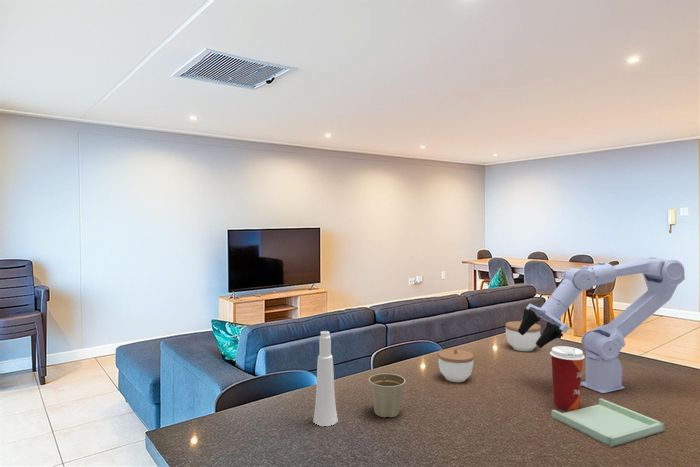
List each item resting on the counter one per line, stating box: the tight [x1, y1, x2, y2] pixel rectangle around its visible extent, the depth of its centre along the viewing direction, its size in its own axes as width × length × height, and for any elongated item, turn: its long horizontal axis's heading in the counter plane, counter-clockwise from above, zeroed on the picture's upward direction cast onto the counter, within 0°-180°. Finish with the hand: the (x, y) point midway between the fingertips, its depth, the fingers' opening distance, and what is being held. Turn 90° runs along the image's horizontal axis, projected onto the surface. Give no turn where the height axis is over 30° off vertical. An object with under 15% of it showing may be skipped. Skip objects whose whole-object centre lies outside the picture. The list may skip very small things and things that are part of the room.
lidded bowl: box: [504, 319, 542, 352], centre depth 171 cm, size 13×13×11 cm
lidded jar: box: [437, 348, 475, 383], centre depth 139 cm, size 11×11×9 cm
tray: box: [551, 398, 666, 448], centre depth 108 cm, size 18×16×2 cm
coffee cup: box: [549, 345, 586, 412], centre depth 119 cm, size 8×8×15 cm
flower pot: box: [368, 373, 406, 418], centre depth 115 cm, size 9×9×9 cm
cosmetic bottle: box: [312, 330, 339, 427], centre depth 110 cm, size 6×6×22 cm
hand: (528, 339), depth 131 cm, fingers open, 7 cm apart
